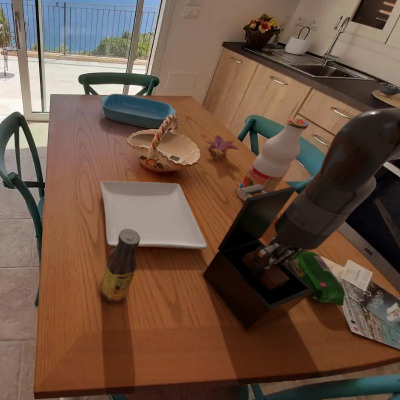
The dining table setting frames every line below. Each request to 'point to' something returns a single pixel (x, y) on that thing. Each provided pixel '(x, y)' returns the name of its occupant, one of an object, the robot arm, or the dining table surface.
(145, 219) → the square plate
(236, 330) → the dining table surface
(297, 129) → the fruit juice
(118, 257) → the sauce bottle
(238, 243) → the bin lid
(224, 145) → the lily
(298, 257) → the snack package
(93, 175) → the dining table surface
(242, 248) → the waste bin
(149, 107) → the casserole dish
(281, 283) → the chocolate bar
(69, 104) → the dining table surface
